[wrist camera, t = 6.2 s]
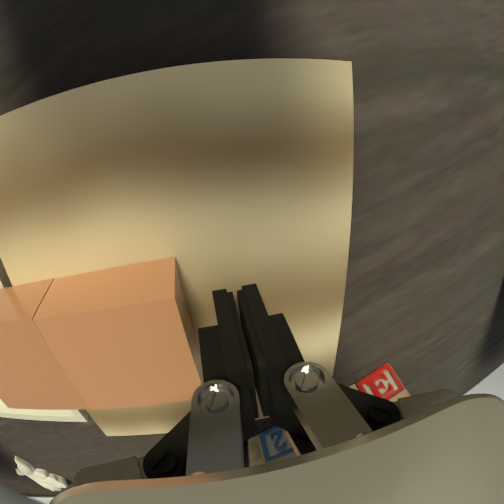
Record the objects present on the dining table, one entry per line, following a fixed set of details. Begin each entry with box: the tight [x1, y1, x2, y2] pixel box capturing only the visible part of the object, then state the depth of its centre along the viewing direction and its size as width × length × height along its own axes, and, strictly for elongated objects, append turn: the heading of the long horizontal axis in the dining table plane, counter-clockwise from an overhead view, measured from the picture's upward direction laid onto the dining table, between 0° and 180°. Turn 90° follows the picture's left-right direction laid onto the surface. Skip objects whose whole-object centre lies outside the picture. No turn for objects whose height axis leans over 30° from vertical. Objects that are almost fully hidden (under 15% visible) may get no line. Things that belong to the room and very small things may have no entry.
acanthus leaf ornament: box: [15, 456, 67, 491], centre depth 23 cm, size 8×7×2 cm
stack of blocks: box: [248, 363, 410, 467], centre depth 19 cm, size 21×6×12 cm, turn 123°
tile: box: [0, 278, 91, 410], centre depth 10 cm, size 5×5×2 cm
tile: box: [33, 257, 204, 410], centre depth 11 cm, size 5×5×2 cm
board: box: [0, 58, 354, 436], centre depth 14 cm, size 18×14×3 cm
